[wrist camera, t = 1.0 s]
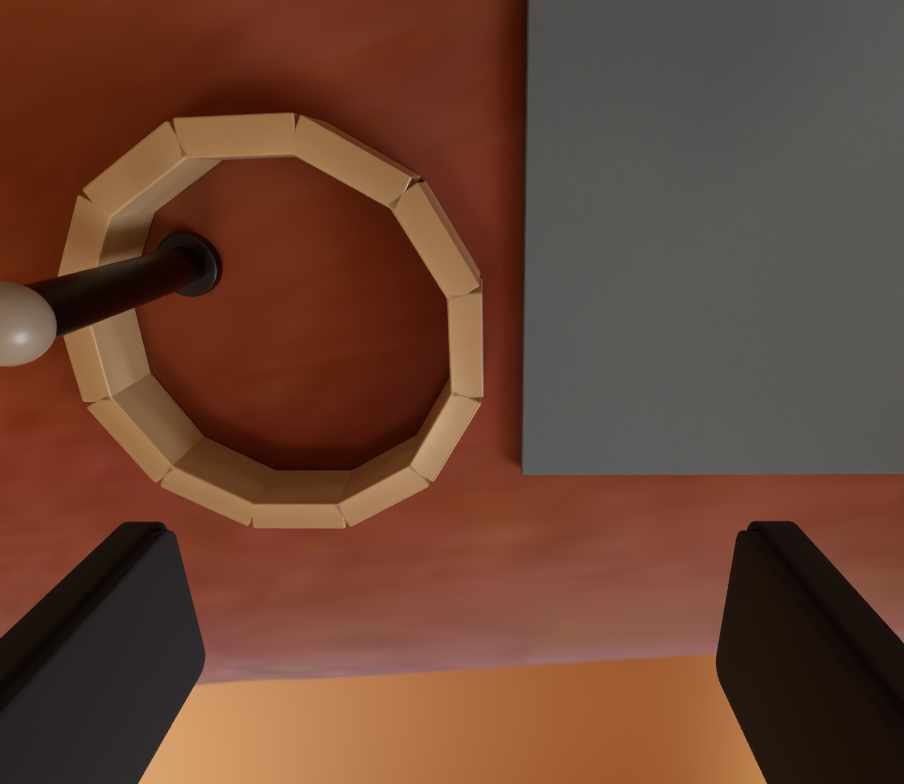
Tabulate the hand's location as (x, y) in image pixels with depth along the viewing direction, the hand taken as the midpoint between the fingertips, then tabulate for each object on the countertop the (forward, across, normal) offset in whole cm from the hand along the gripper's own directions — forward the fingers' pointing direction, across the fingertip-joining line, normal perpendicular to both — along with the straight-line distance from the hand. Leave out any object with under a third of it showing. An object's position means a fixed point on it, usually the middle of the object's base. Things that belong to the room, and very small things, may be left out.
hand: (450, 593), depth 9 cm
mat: (+16, -12, -4) cm, 20 cm away
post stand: (+16, +12, -4) cm, 20 cm away
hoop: (+16, +8, -1) cm, 18 cm away
